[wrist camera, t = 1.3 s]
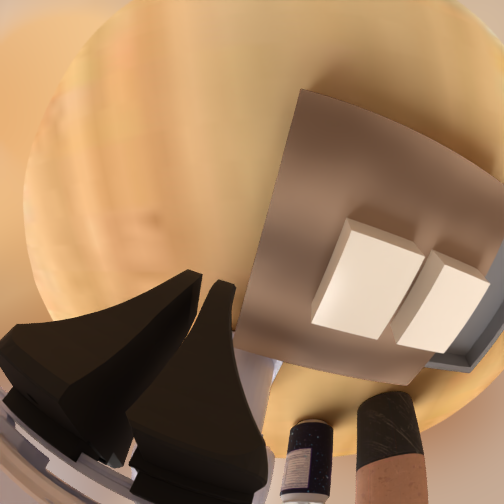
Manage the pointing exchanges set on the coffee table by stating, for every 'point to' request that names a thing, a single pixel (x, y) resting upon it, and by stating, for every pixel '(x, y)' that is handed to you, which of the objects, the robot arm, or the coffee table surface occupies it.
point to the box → (477, 326)
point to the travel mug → (389, 452)
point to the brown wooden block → (365, 211)
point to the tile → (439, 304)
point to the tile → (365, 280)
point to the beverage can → (308, 463)
